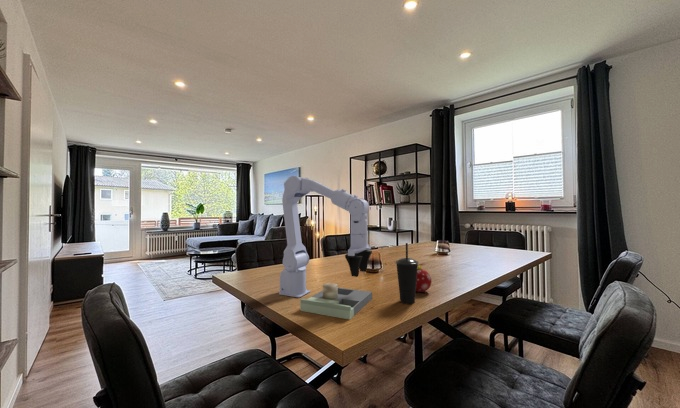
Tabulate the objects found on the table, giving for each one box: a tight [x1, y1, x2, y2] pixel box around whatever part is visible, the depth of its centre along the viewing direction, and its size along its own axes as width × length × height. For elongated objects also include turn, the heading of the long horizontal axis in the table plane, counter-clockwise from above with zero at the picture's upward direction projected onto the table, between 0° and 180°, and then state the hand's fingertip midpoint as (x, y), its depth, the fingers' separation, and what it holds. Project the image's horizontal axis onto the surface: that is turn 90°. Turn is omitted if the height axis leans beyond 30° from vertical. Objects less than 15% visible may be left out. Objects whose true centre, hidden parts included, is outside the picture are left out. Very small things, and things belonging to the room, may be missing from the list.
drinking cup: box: [395, 242, 419, 305], centre depth 96 cm, size 8×8×20 cm
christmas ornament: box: [416, 264, 432, 293], centre depth 107 cm, size 9×9×10 cm
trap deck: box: [299, 287, 373, 320], centre depth 94 cm, size 17×20×4 cm
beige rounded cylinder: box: [322, 282, 339, 300], centre depth 94 cm, size 5×5×4 cm
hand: (359, 273), depth 95 cm, fingers open, 7 cm apart
